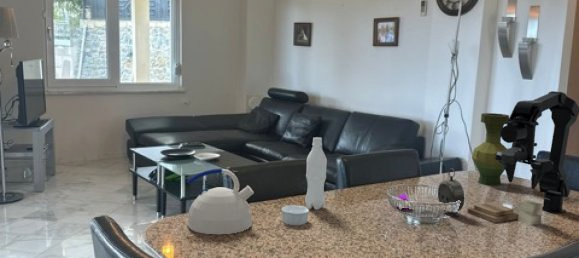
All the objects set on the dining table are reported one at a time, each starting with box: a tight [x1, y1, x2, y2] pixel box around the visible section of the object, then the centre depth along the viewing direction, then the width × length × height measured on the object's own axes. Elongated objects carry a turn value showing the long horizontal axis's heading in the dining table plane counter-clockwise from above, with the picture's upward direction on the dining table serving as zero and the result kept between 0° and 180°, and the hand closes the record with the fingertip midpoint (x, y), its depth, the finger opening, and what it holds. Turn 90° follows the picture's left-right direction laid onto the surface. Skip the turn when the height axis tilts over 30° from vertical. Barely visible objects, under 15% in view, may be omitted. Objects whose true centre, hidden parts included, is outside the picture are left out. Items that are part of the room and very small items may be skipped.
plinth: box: [467, 202, 519, 224], centre depth 188 cm, size 12×12×3 cm
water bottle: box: [304, 136, 328, 211], centre depth 189 cm, size 7×7×25 cm
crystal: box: [396, 193, 410, 201], centre depth 194 cm, size 5×5×5 cm
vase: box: [471, 112, 510, 187], centre depth 233 cm, size 16×16×30 cm
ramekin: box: [281, 205, 310, 226], centre depth 175 cm, size 9×9×4 cm
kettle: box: [186, 168, 255, 236], centre depth 169 cm, size 20×21×18 cm
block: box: [517, 199, 543, 226], centre depth 181 cm, size 5×5×7 cm
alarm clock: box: [437, 167, 465, 218], centre depth 188 cm, size 11×5×16 cm, turn 14°
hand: (521, 185), depth 181 cm, fingers open, 9 cm apart
